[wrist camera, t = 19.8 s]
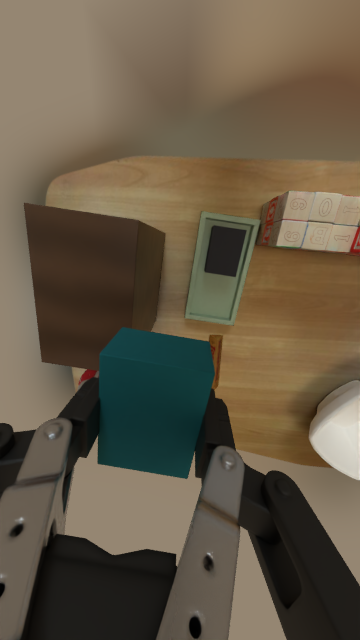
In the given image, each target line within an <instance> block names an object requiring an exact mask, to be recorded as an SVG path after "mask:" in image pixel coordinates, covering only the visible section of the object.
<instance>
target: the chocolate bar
mask: <svg viewBox="0 0 360 640" xmlns="http://www.w3.org/2000/svg"><path fill="white" fill-rule="evenodd" d="M222 339H223V335H210V337H209V342H210V347H211V353H212V358H213V364H214V369H215V377H214V380H213V384H212V388H213V389H214V390H215V389H216V388H217V386H218V381H219V371H220V360H221V350H222Z"/></svg>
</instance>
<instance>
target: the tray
mask: <svg viewBox="0 0 360 640" xmlns="http://www.w3.org/2000/svg"><path fill="white" fill-rule="evenodd" d="M260 221H261V220H257V219H250V218H244V217H237V216H231V215H224V214H217V213H211V212H204V211H202V212H201V218H200V224H199V230H198V237H197V243H196V249H195V255H194V262H193V268H192V274H191V280H190V286H189V293H188V299H187V305H186V311H185V318H187V319H194V320H200V321H207V322H213V323H220V324H226V325H233V326H234V321H235V318H236V314H237V310H238V307H239V303H240V299H241V295H242V291H243V287H244V283H245V279H246V275H247V271H248V267H249V264H250V260H251V256H252V252H253V248H254V244H255V240H256V236H257V232H258V228H259V225H260ZM214 225H216V226H223V227H229V228H236V229H243V230H247V232H246V236H245V240H244V244H243V249H242V253H241V257H240V261H239V266H238V270H237V274H236V277H231V276H225V275H218V274H212V273H205V271H204V268H205V263H206V257H207V252H208V246H209V240H210V235H211V229H212V227H213V226H214Z"/></svg>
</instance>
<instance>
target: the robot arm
mask: <svg viewBox="0 0 360 640" xmlns="http://www.w3.org/2000/svg"><path fill="white" fill-rule="evenodd" d="M99 421H100V398H99V377H98V378H96V377H92V378H90V379H89V380H87V381H86V382H84V384H83V385H82V386H81V387H80V389H79V390H78V391H77V393H76V394H75V396H73V398H72V399H71V400H70V402H69V403H68V404H67V405H66V407H65V408H64V409H63V410H62V412H61V413H60V414H59V416H58V417H57V418H54V419H51V420H48V421H47V422H45V423H43V424H42V425H41V426H39V428H38V429H37V430H30V431H23V432H13V428H12V426H11V425H9V424H6V423H0V640H228V636H229V627H230V618H231V610H232V601H233V592H234V582H235V573H236V564H237V557H238V548H239V538H240V526H241V527H243V528H244V529H246V530H248V533H249V536H250V539H251V541H252V544H253V547H254V550H255V553H256V555H257V558H258V561H259V564H260V567H261V569H262V572H263V575H264V577H265V580H266V583H267V586H268V589H269V592H270V594H271V597H272V600H273V603H274V605H275V608H276V611H277V614H278V617H279V619H280V622H281V625H282V628H283V631H284V633H285V636H286V639H287V640H360V586H359V584H358V582H357V581H356V579H355V577H354V576H353V574H352V573H351V571H350V570H349V568H348V566H347V565H346V563H345V561H344V560H343V558H342V557H341V555H340V554H339V552H338V551H337V549H336V547H335V545H334V544H333V542H332V541H331V539H330V537H329V536H328V534H327V533H326V531H325V529H324V528H323V526H322V525H321V523H320V521H319V520H318V518H317V516H316V515H315V513H314V512H313V510H312V508H311V507H310V505H309V504H308V502H307V500H306V499H305V497H304V496H303V494H302V492H301V491H300V489H299V488H298V486H297V485H296V484H295V482H294V481H293V480H292V479H291V478H290V477H289V476H287V475H286V474H284V473H282V472H279V471H270V472H268V473H267V474H266V475H264V474H262V473H260V472H258V471H256V470H254V469H252V468H250V467H249V466H248V465H246V464H245V463H244V462H243V459H242V457H241V456H240V455H239V453H238V452H237V451H236V448H235V443H234V439H233V434H232V429H231V424H230V419H229V416H228V410H227V406H226V405H225V403H224V402H223V400H222V399H218V398H215V392H214V389H213V388H211V392H210V395H209V399H208V403H207V407H206V411H205V414H204V416H203V420H202V424H201V428H200V432H199V435H198V439H197V443H196V447H195V476H196V477H197V478H201V479H202V488H201V491H200V495H199V498H198V501H197V504H196V508H195V511H194V515H193V518H192V521H191V524H190V527H189V531H188V534H187V537H186V541H185V544H184V547H183V551H182V554H181V557H180V560H179V564H178V567H177V566H176V554H173V553H167V552H161V551H155V550H150V549H144V550H139V551H134V552H129V553H125V554H120V555H111V554H109V553H108V552H106V551H105V550H103V549H102V548H100V547H98V546H97V545H95V544H94V543H92V542H90V541H89V540H87V539H85V538H79V537H74V536H68V535H64V533H65V521H66V514H67V508H68V502H69V496H70V490H71V484H72V479H73V473H74V465H75V463H76V462H77V460H78V458H79V457H84V458H87V456H88V454H89V452H90V450H91V448H92V446H93V444H94V442H95V440H96V438H97V436H98V434H99Z"/></svg>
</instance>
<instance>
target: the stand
mask: <svg viewBox="0 0 360 640" xmlns="http://www.w3.org/2000/svg"><path fill="white" fill-rule="evenodd" d="M24 209H25V218H26V227H27V235H28V243H29V253H30V262H31V270H32V279H33V287H34V297H35V306H36V314H37V323H38V332H39V341H40V349H41V357H42V362H45V363H52V364H58V365H65V366H71V367H77V368H84V369H90V370H96V371H99V354H100V353H101V351H102V350H103V349H104V348H105V347H106V346H107V344H108V343H109V342H110V341H111V340H112V339H113V337H114V336H115V335H116V334H117V333H118V332H119V330H120V329H121V328H122V327H125V328H131V329H137V330H143V331H149V332H151V330H152V328H153V326H154V323H155V321H156V316H157V306H158V297H159V288H160V279H161V269H162V260H163V251H164V242H165V233H163V232H161V231H159V230H157V229H155V228H153V227H151V226H149V225H147V224H145V223H143V222H141V221H139V220H134V219H127V218H121V217H114V216H107V215H101V214H94V213H88V212H81V211H75V210H68V209H61V208H55V207H48V206H42V205H34V204H29V203H24Z"/></svg>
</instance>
